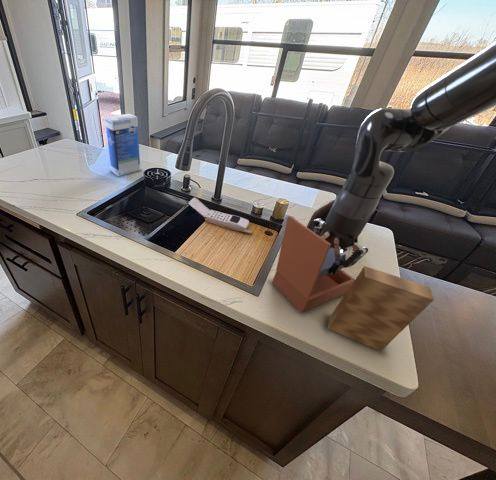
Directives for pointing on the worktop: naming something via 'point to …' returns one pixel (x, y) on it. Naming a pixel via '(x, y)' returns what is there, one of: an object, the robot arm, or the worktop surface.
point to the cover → (301, 256)
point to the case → (315, 289)
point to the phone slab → (328, 262)
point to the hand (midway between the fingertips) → (321, 264)
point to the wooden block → (378, 307)
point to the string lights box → (123, 143)
